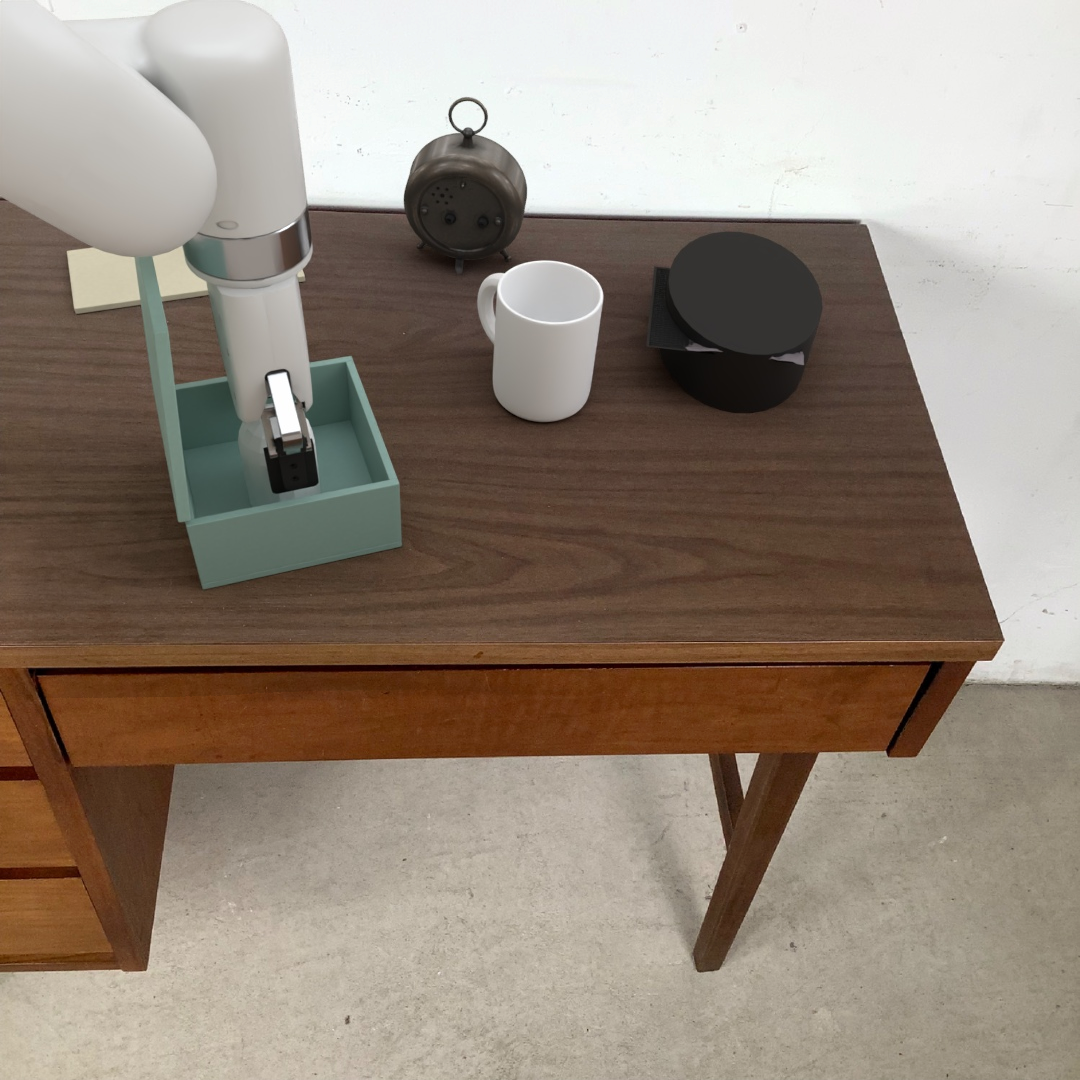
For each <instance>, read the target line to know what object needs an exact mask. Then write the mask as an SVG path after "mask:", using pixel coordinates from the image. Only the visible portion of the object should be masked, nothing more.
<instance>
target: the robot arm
mask: <svg viewBox="0 0 1080 1080" xmlns="http://www.w3.org/2000/svg"><path fill="white" fill-rule="evenodd" d="M290 53H291V52H290V48H289V42H288V39H287V37H286V34H285V31H284V29H283V28H282V26H281V24H279V22H278V21H277V20H276V18H275V17H273V15H272V14H270V13H269V12H268V11H267V10H265V9H264V8H261V7H260V6H257V5H256V4H254V3H250V2H247V1H245V0H181V1H179V2H174V3H172V4H170V5H167V6H164V7H163V8H161V9H158V11H156V12H155V13H153V14H149V15H140V16H131V17H115V18H93V19H66V20H62V19H60V18H59V17H58V16H56V14H54V13H53V12H51V10H49V9H48V8H46V6H44V5H42V4H41V3H40V2H39V1H38V0H0V197H1V198H2V199H4V200H6V201H7V202H9V203H11V204H12V205H14V206H17V207H18V208H19V209H21V210H24V211H25V212H27V213H29V214H30V215H33V216H34V217H36V218H38V219H40V220H42V221H43V222H45V223H47V224H49V225H50V226H51V227H54V228H55V229H57V230H59V231H61V232H64V233H65V234H67V235H69V236H71V237H72V238H75V239H76V240H78V241H80V242H82V243H84V244H86V245H88V246H89V247H91V248H93V247H94V248H96V249H99V250H101V251H104V252H107V253H111V254H115V255H119V256H125V257H149V256H156V255H160V254H164V253H167V252H170V251H172V250H174V249H176V248H178V247H180V246H182V248H183V251H184V257H185V261H186V264H187V266H188V267H189V269H190V270H191V271H192V272H193V273H194V274H195V275H196V276H198V277H199V278H201V279H203V280H204V281H206V283H207V289H208V294H209V295H208V299H209V305H210V309H211V313H212V318H213V323H214V328H215V332H216V338H217V342H218V347H219V351H220V356H221V359H222V365H223V367H224V372H225V377H226V376H227V380H228V384H229V388H230V392H231V396H232V399H233V403H234V407H235V410H236V413H237V416H238V418H239V419H240V420H242V421H243V422H245V423H249V422H253V421H259V420H260V418H261V421H262V426H263V430H264V434H265V439H266V443H267V447H265V448H263V449H264V455H265V460H266V465H267V471H268V476H269V481H270V486H271V490H272V492H273V493H274V494H280V493H284V492H289V491H294V490H299V489H304V488H308V487H313V486H316V485H317V484H318V483H319V479H318V472H317V465H316V458H315V451H314V444H313V440H312V438H311V439H310V436H309V431H308V426H307V422H306V417H305V413H304V410H305V412H307V411H308V410H309V409H310V407H311V406H312V404H313V396H312V384H311V374H310V364H309V363H310V357H309V348H308V341H307V334H306V326H305V325H306V324H305V318H304V311H303V303H302V296H301V295H302V294H301V288H300V282H298V275H297V273H299V272H300V271H301V270H302V269H303V270H304V269H305V268H306V266H307V265H308V264H309V262H310V261H311V259H312V255H313V252H314V247H313V240H312V229H311V221H310V213H309V203H308V197H307V187H306V178H305V171H304V162H303V154H302V153H303V152H302V146H301V145H302V144H301V136H300V127H299V120H298V119H299V118H298V109H297V102H296V94H295V85H294V84H295V83H294V76H293V67H292V60H291V54H290ZM292 392H293V395H294V399H295V403H294V400H293V396H292ZM267 398H271V399H272V403H273V407H272V408H266V409H265V404H266V401H267ZM272 417H276V419H277V423H278V427H279V434H280V437H278V438H275V439H274V434H273V430H272V425H271V421H270V418H272Z"/></svg>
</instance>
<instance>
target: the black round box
mask: <svg viewBox="0 0 1080 1080" xmlns="http://www.w3.org/2000/svg"><path fill="white" fill-rule="evenodd" d="M652 275H653V277H652V284H651V295H650V303H649V305H650V306H649V314H648V323H647V326H648V327H647V335H646V346H645V347H646V348H647V347H648V348H656V349H657V348H658V353H659V355H660V358H661V361H662V364H663V366H664V367H665V369H666V370H667V372H668V374H669V376H670V377H671V378H672V380H673V381H674V382H675V383H676V384H677V385H678V386H679V387H680V389H682V390H683V391H684V392H686V393H687V394H688V395H689V396H690V397H692V398H693V399H695V400H697V401H699V402H701V403H703V404H704V405H706V406H709V407H712V408H715V409H718V410H720V411H725V412H730V413H735V414H753V413H757V412H764V411H767V410H769V409H772V408H775V407H777V406H779V405H780V404H782V403H783V402H784V401H787V400H788V399H789V398H790V397H791V396H792V395H793V393H794V392H795V391H796V390H797V388H798V387H799V385H800V382H801V380H802V378H803V376H804V372H805V369H806V366H807V363H808V360H809V356H810V354H811V350H812V347H813V343H814V340H815V338H816V334H817V331H818V328H819V325H820V322H821V318H822V314H823V313H822V312H823V297H822V294H821V293H822V292H821V289H820V286H819V283H818V282H817V280H816V278H815V276H814V274H813V273H812V271H811V270H810V269H809V268H808V267H807V265H806V264H805V263H804V262H803V261H802V260H801V259H800V257H798V256H797V255H796V254H795V253H794V252H792V251H790V250H789V249H788V248H786V247H784V246H783V245H782V244H779V243H777V242H775V241H773V240H771V239H769V238H767V237H763V236H761V235H757V234H754V233H749V232H743V231H727V230H726V231H718V232H712V233H708V234H705V235H702V236H699V237H697V238H695V239H693V240H691V241H689V242H688V243H687V244H686V245H684V246H683V247H682V248H681V249H680V250H679V251H678V253H677V254H676V256H675V257H674V259H673V261H672V263H671V266H670V267H665V266H656V265H653V274H652Z"/></svg>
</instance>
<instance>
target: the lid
mask: <svg viewBox="0 0 1080 1080" xmlns="http://www.w3.org/2000/svg"><path fill="white" fill-rule="evenodd" d="M134 258H135V265H136V273H137V280H138V287H139V294H140V301H141V305H140V307H141V315H142V322H143V330H144V336H145V345H146V351H147V358H148V364H149V365H148V366H149V372H150V379H151V385H152V390H153V396H154V401H155V406H156V407H155V408H156V412H157V417H158V423H159V429H160V433H161V438H162V443H163V449H164V454H165V458H166V459H165V460H166V464H167V470H168V476H169V481H170V487H171V490H172V491H171V492H172V497H173V502H174V508H175V512H176V519H177V522H178V523H185V521H190V520H191V516H190V507H189V499H188V491H187V482H186V474H185V466H184V457H183V449H182V441H181V432H180V424H179V416H178V407H177V399H176V391H175V385H176V383H175V375H174V367H173V366H174V365H173V359H172V357H173V356H172V350H171V341H170V333H169V332H170V331H169V328H168V324H167V318H166V314H165V309H164V304H163V302H162V299H161V295H160V290H159V285H158V281H157V276H156V271H155V266H154V262H153V257H152V256H149V257H134Z"/></svg>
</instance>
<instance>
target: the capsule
mask: <svg viewBox="0 0 1080 1080" xmlns="http://www.w3.org/2000/svg"><path fill="white" fill-rule="evenodd" d="M272 407H273V403H271V404H265V409H266V408H272ZM270 421H271V425H272V430H273V434H274V439H275V438H278V437H280V434H279V427H278V423H277V419H276V417H272V418H270ZM306 422H307V426H308V431H309V436H310V439H311V438H312V440H313V444H314V451H315V458H316V465H317V472H318V479H319V471H318V462H317V454H316V446H315V438H314V435H313V431H312V428H311V426H310V423H309V421H308V419H307V418H306ZM238 445H239V450H240V455H241V460H242V465H243V470H244V476H245V481H246V486H247V491H248V496H249V501H250V504H251V505H252V507H256V506H261V505H266V504H271V503H276V502H281V501H286V500H291V499H296V498H301V497H306V496H311V495H316V494H320V493H321V487H320V479H319V483H318V484H317V485H316V486H313V487H308V488H304V489H299V490H294V491H289V492H284V493H280V494H274V493H273V492H272V490H271V486H270V481H269V476H268V471H267V465H266V460H265V455H264V449H263V448H265V447H267V443H266V439H265V434H264V430H263V426H262V421H261V418H260V420H259V421H253V422H249V423H245V422H242V424H241V427H240V430H239V436H238Z"/></svg>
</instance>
